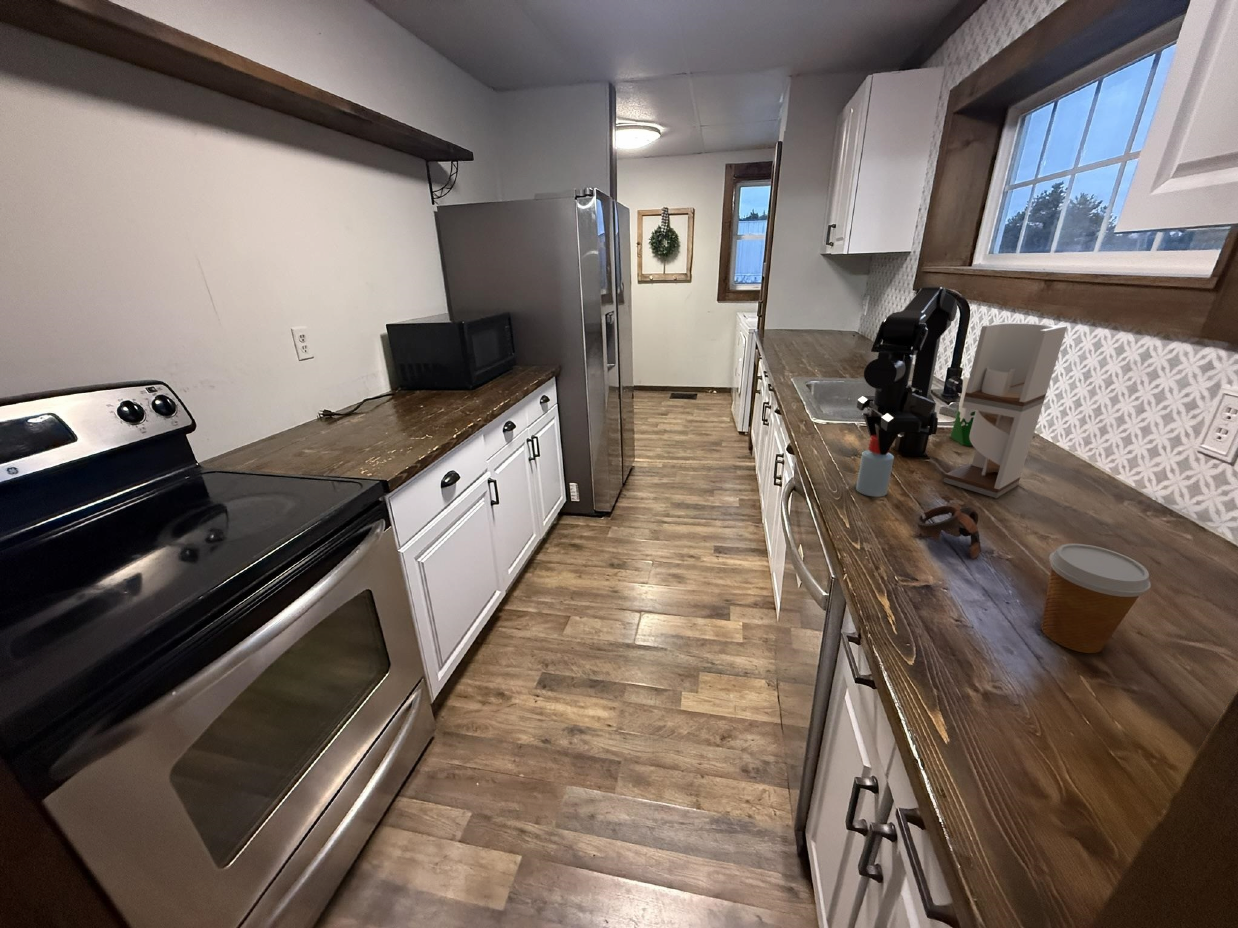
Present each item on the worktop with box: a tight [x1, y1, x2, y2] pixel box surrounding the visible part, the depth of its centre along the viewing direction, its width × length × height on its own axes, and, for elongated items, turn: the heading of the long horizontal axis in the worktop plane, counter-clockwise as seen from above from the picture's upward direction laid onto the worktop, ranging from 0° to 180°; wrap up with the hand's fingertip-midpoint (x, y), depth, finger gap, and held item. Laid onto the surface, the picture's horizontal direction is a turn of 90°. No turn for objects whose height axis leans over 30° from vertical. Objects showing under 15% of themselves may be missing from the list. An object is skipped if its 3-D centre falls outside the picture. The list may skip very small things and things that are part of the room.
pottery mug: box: [915, 504, 982, 560], centre depth 89 cm, size 12×10×8 cm
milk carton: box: [949, 375, 976, 447], centre depth 135 cm, size 9×9×20 cm
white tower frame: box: [942, 321, 1068, 499], centre depth 106 cm, size 11×11×35 cm
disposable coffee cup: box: [1040, 543, 1152, 654], centre depth 64 cm, size 10×10×12 cm
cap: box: [868, 435, 891, 454], centre depth 106 cm, size 4×4×3 cm
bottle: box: [855, 449, 895, 498], centre depth 108 cm, size 6×6×12 cm
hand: (879, 451), depth 107 cm, fingers closed on cap, 4 cm apart
